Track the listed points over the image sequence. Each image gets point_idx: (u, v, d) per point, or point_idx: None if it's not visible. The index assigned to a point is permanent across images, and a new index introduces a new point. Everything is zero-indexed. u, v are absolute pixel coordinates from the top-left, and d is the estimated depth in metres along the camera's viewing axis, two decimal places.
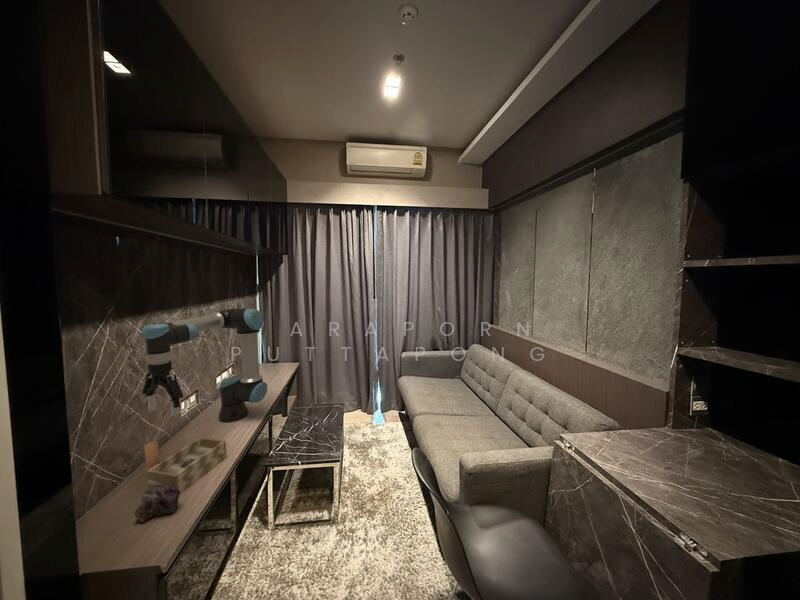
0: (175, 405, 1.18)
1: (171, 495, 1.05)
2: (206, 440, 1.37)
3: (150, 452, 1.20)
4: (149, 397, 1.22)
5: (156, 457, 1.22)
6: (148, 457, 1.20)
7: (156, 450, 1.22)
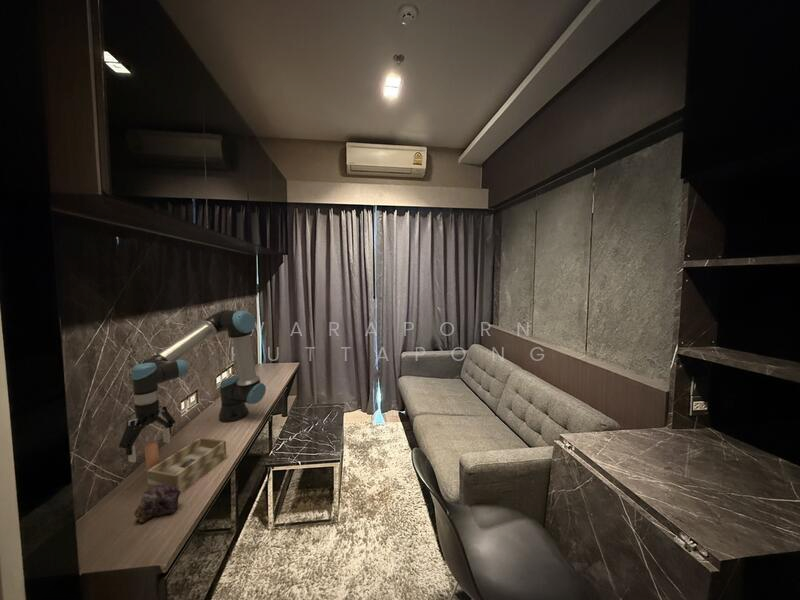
0: None
1: (171, 495, 1.05)
2: (206, 440, 1.37)
3: (150, 452, 1.20)
4: (163, 429, 1.28)
5: (156, 457, 1.22)
6: (148, 457, 1.20)
7: (156, 450, 1.22)
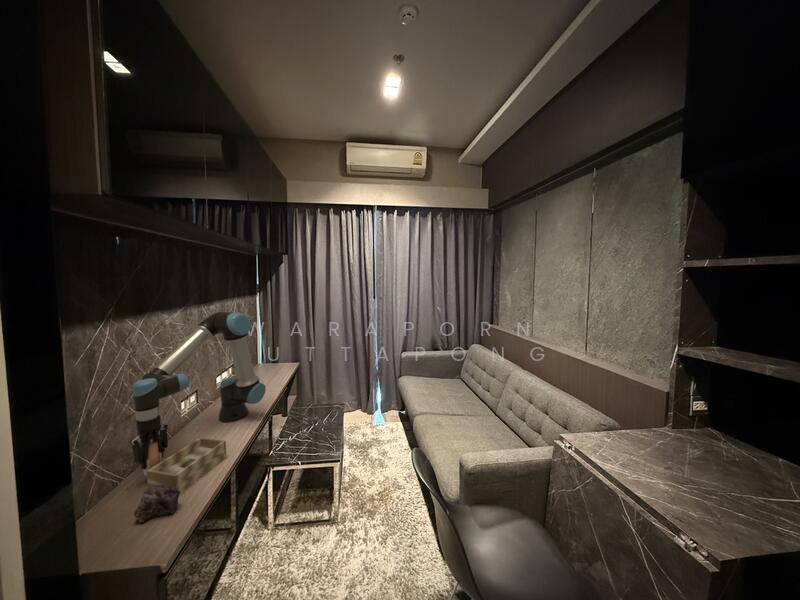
0: None
1: (171, 495, 1.04)
2: (206, 440, 1.37)
3: (150, 452, 1.20)
4: None
5: (156, 457, 1.22)
6: (148, 457, 1.20)
7: (156, 450, 1.22)
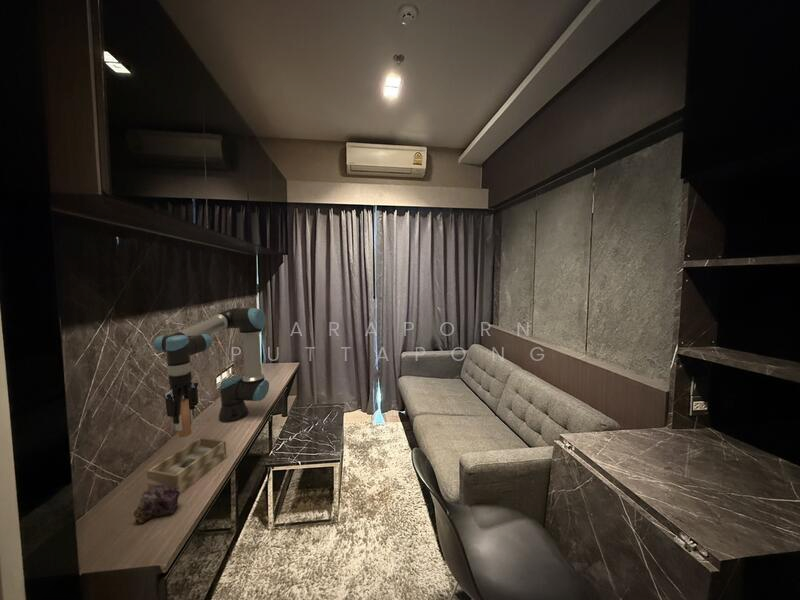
0: None
1: (170, 496, 1.04)
2: (206, 440, 1.37)
3: (182, 408, 1.21)
4: None
5: (187, 413, 1.23)
6: (180, 413, 1.21)
7: (187, 406, 1.23)
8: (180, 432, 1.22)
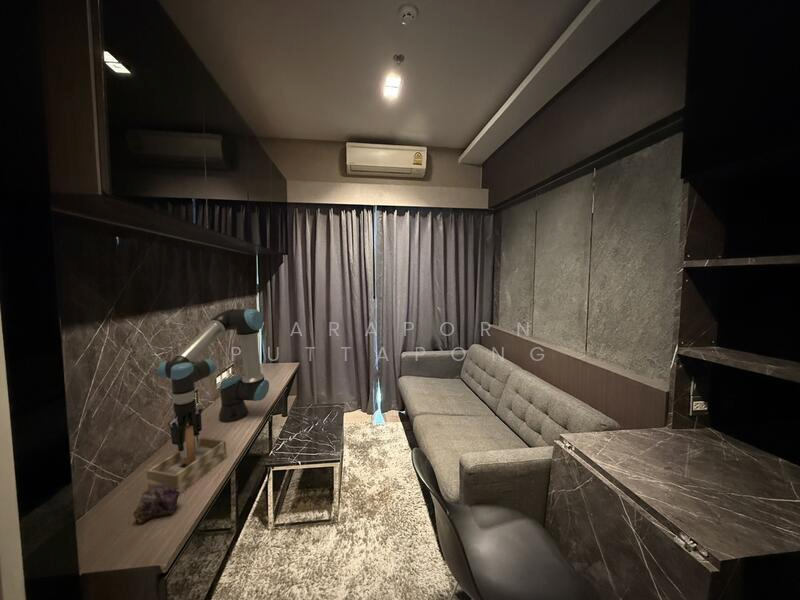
0: None
1: (170, 496, 1.04)
2: (206, 440, 1.37)
3: (187, 435, 1.23)
4: None
5: (192, 440, 1.24)
6: (185, 440, 1.23)
7: (192, 433, 1.24)
8: (185, 459, 1.23)
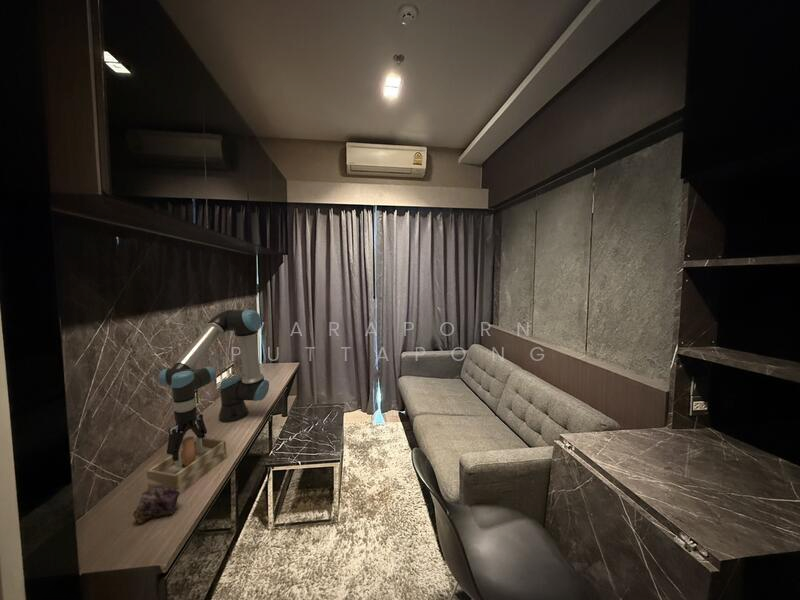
0: None
1: (170, 496, 1.04)
2: (206, 440, 1.37)
3: (188, 447, 1.23)
4: (196, 439, 1.30)
5: (193, 452, 1.25)
6: (185, 452, 1.23)
7: (193, 445, 1.25)
8: None
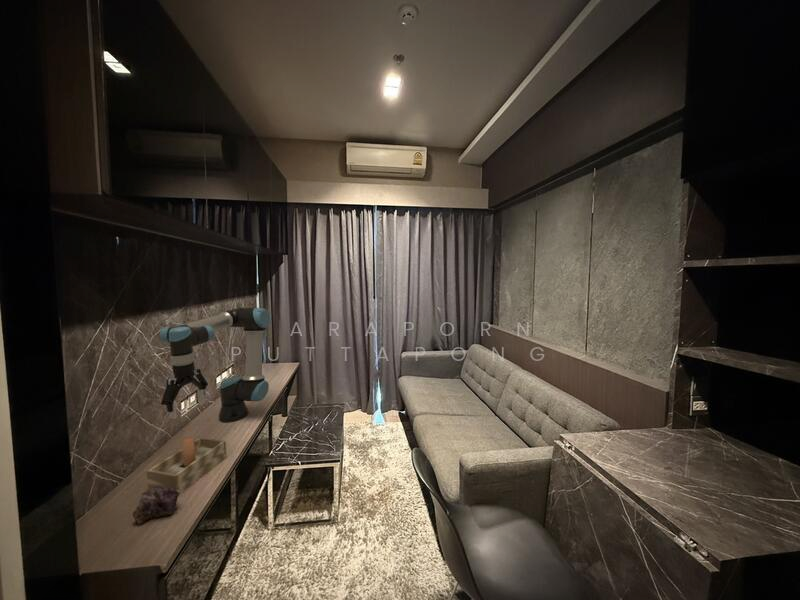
0: None
1: (169, 497, 1.04)
2: (206, 440, 1.37)
3: (188, 447, 1.23)
4: (197, 390, 1.34)
5: (193, 452, 1.25)
6: (185, 452, 1.23)
7: (193, 445, 1.25)
8: None
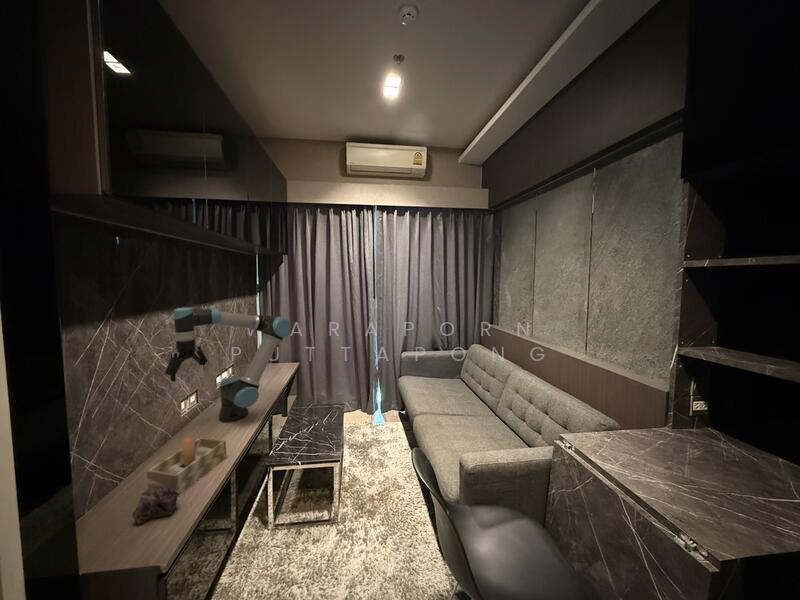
0: None
1: (169, 497, 1.04)
2: (206, 440, 1.37)
3: (188, 447, 1.23)
4: (198, 365, 1.50)
5: (193, 452, 1.25)
6: (185, 452, 1.23)
7: (193, 445, 1.25)
8: None
